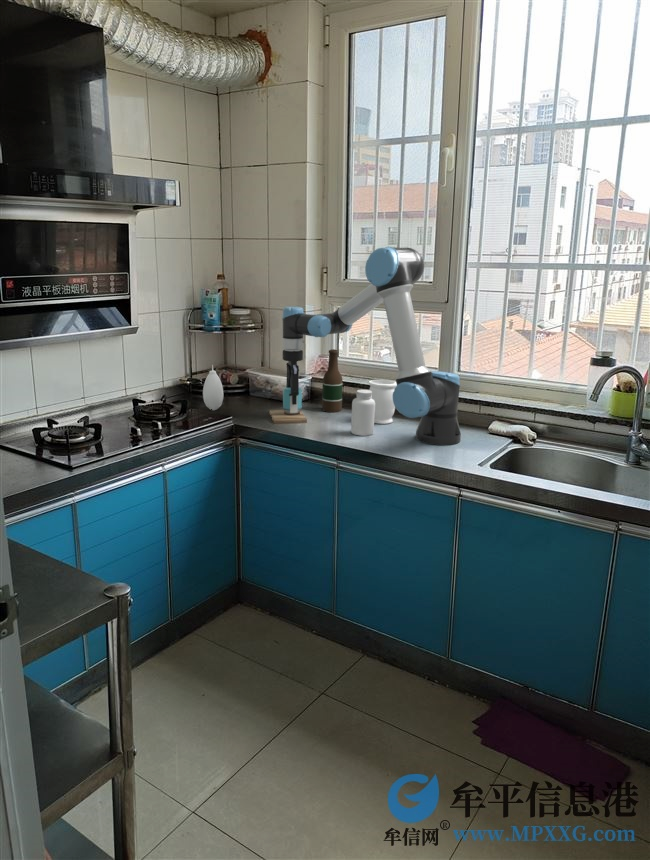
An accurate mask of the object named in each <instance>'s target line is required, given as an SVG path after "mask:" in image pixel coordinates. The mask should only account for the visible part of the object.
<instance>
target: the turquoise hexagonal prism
mask: <svg viewBox="0 0 650 860" xmlns="http://www.w3.org/2000/svg"><path fill="white" fill-rule="evenodd" d="M302 391H303V390H302V388H300V387H299V395H298V409H300V410H301V409H302V403H303V401H302V397H303V395H302V394H303V392H302ZM289 394H291V387H289V388H286V387H284V388H282V407H283V410H284V409H290V396H289Z"/></svg>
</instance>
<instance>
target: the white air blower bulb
mask: <svg viewBox="0 0 650 860" xmlns="http://www.w3.org/2000/svg"><path fill="white" fill-rule="evenodd" d="M202 399H203V402H204V405H205V406H206V408H208V409H209V410H211V409H212V410H211V411H216V410H218V409H219V408H220V407H221V406H222V404H223V400H224V387H223V384H222V380H221V378H220V377H219V375H218V374H217V371H216V370H214V365H213V364H212V365H211V370H209V372H208V374H207V376H206V378H205V381H204V384H203V388H202Z"/></svg>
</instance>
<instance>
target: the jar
mask: <svg viewBox="0 0 650 860" xmlns="http://www.w3.org/2000/svg"><path fill="white" fill-rule="evenodd" d="M368 385H369V386H370V387H369V389H368V390H370V391H372V397H371V398H372V399H373V400H374V401H375V417H374V424H379V425H380V424H381V425H388V424H391V423H393V422H394V419H393V416H394V414H395V411H396V407H395V405H394V403H393V392H394V389H395V388H396V386H397V384H396V380H389V379H372V380H369V381H368Z"/></svg>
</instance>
